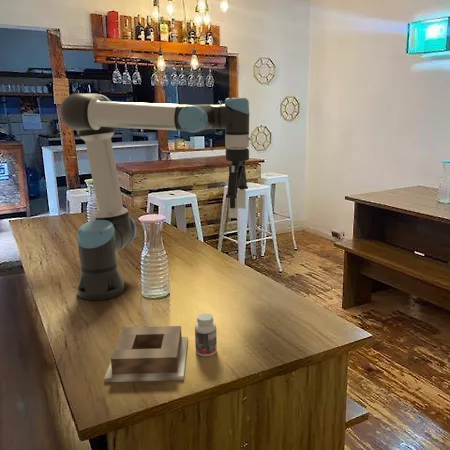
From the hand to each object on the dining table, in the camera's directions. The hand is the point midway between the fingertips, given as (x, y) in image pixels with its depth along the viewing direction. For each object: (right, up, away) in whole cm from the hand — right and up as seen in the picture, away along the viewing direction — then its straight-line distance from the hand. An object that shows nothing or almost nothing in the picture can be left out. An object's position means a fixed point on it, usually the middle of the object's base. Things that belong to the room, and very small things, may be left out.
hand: (237, 212), depth 150 cm
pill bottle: (-9, -36, -35) cm, 51 cm away
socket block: (-23, -37, -38) cm, 58 cm away
